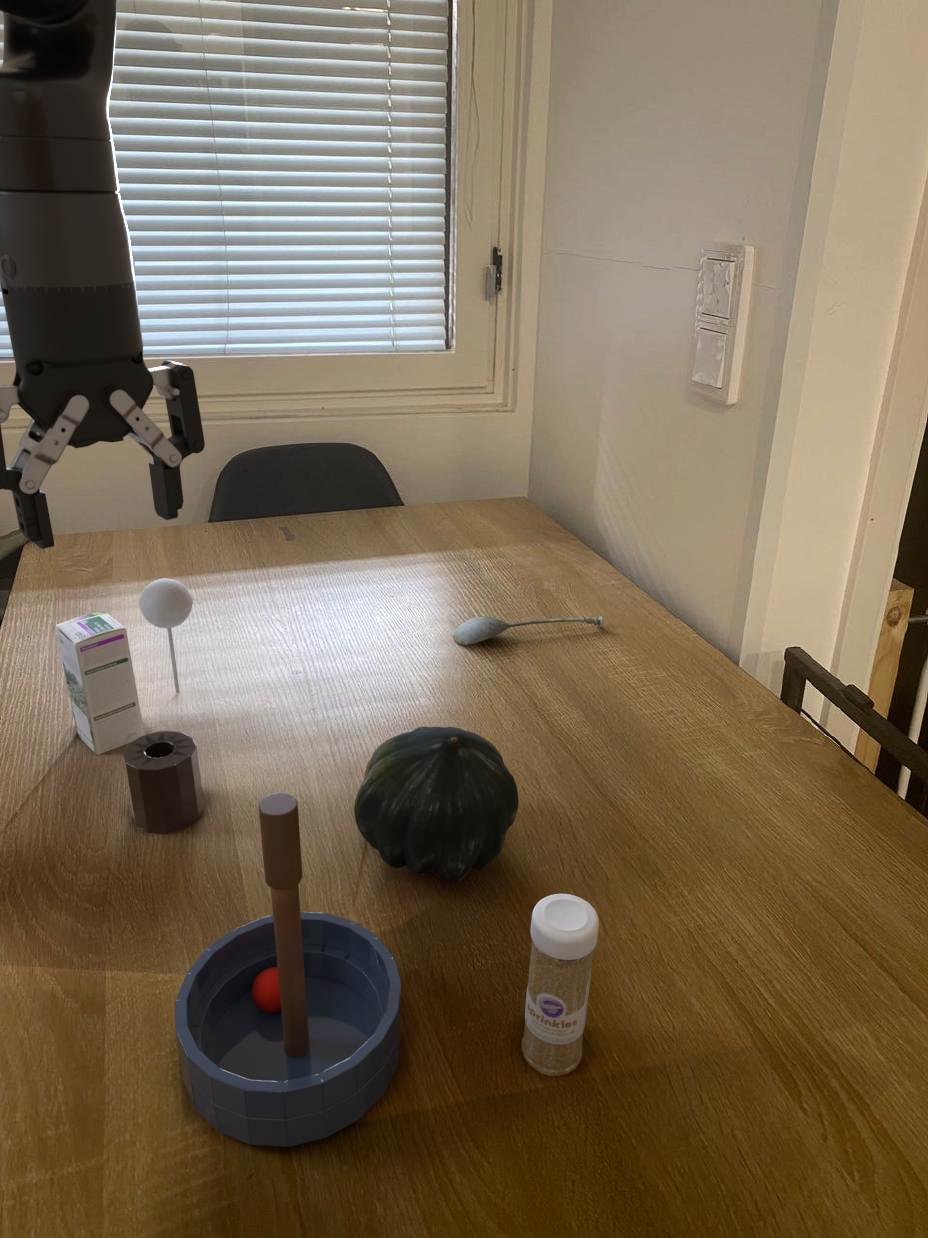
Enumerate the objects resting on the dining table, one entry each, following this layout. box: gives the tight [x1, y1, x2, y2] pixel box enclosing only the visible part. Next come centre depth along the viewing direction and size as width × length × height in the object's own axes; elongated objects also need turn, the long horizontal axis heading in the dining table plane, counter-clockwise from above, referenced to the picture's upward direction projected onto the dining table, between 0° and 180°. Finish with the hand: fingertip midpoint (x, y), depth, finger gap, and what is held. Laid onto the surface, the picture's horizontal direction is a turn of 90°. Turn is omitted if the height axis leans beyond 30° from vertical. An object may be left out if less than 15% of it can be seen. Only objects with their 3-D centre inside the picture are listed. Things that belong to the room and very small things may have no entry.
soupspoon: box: [452, 615, 604, 646], centre depth 129 cm, size 22×3×7 cm
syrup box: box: [54, 610, 145, 756], centre depth 100 cm, size 6×6×14 cm
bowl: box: [174, 911, 403, 1148], centre depth 66 cm, size 16×16×6 cm
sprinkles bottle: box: [521, 893, 600, 1077], centre depth 64 cm, size 5×5×13 cm
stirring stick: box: [258, 792, 310, 1058], centre depth 62 cm, size 2×2×22 cm
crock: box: [122, 730, 205, 834], centre depth 89 cm, size 7×7×8 cm
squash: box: [353, 726, 520, 883], centre depth 84 cm, size 14×15×15 cm
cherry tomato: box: [252, 967, 281, 1012], centre depth 69 cm, size 3×3×3 cm
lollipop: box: [138, 577, 194, 694], centre depth 109 cm, size 6×6×15 cm
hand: (107, 530), depth 61 cm, fingers open, 8 cm apart
